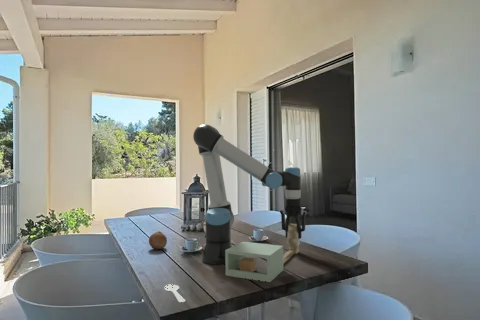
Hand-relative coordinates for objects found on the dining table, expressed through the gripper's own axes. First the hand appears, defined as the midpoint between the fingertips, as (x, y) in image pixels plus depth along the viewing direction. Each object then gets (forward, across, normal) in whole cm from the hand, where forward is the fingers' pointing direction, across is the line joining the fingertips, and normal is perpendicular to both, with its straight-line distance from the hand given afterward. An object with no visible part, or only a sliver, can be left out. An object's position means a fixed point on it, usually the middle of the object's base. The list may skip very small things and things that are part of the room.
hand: (293, 244), depth 171 cm
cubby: (+4, +6, +36) cm, 37 cm away
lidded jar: (+5, +58, -20) cm, 62 cm away
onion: (+4, +68, +21) cm, 71 cm away
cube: (+4, +10, +35) cm, 37 cm away
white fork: (+5, +24, +67) cm, 71 cm away
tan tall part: (+4, +1, +11) cm, 12 cm away
